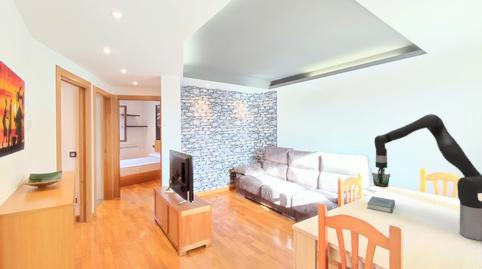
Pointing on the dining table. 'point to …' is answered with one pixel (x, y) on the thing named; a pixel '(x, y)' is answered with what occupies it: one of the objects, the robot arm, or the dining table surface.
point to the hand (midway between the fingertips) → (381, 183)
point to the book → (381, 204)
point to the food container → (385, 180)
